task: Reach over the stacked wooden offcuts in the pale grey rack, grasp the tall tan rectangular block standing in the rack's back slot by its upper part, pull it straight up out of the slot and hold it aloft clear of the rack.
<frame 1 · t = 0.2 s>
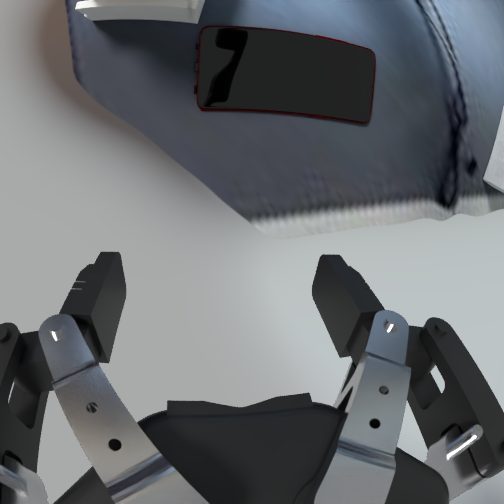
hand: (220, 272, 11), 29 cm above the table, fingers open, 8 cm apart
smartphone: (289, 72, 33), on the table
skincare box: (499, 142, 41), on the table
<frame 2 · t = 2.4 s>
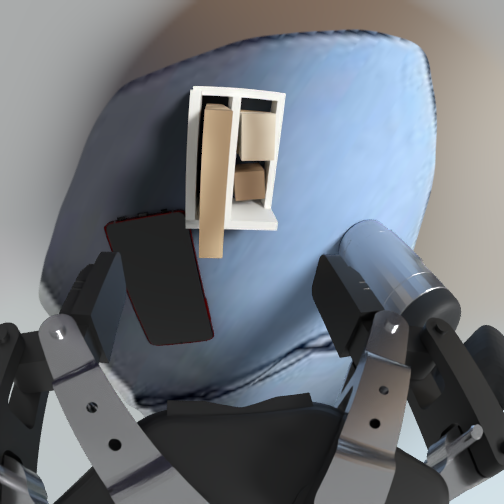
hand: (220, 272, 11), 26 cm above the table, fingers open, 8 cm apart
smartphone: (164, 283, 43), on the table
offcut maple: (254, 133, 30), point 3 cm above the table, touching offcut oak
rack: (231, 148, 33), on the table
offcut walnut: (245, 176, 35), resting in rack
tan rectangular block: (211, 147, 33), resting in rack
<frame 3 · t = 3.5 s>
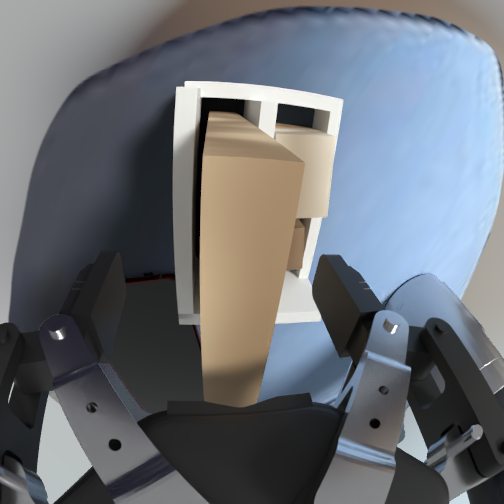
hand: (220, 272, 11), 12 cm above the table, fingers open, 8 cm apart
smartphone: (156, 355, 31), on the table
offcut maple: (290, 165, 18), point 3 cm above the table, touching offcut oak
rack: (250, 185, 21), on the table
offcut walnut: (269, 226, 24), resting in rack
tan rectangular block: (217, 183, 21), resting in rack
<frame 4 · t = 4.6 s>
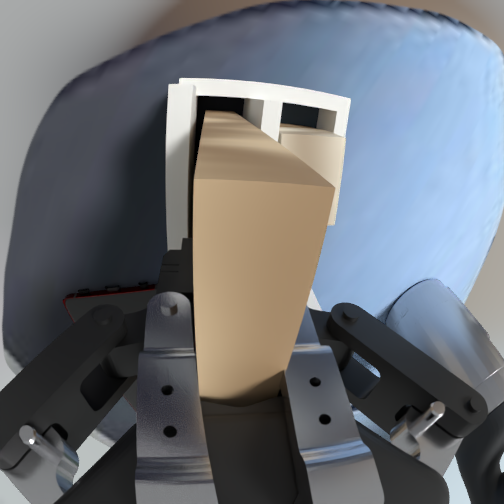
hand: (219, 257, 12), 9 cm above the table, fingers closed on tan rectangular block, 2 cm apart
smartphone: (153, 364, 30), on the table
offcut maple: (294, 167, 17), point 3 cm above the table, touching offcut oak
rack: (249, 189, 20), on the table
tan rectangular block: (214, 188, 20), resting in rack, touching gripper
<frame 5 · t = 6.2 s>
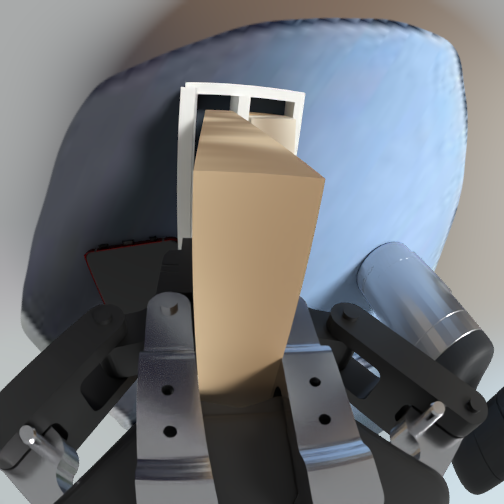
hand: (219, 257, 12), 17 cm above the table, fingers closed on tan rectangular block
smartphone: (156, 317, 37), on the table
offcut maple: (265, 143, 23), point 3 cm above the table, touching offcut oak
rack: (235, 161, 27), on the table
tan rectangular block: (214, 186, 20), point 8 cm above the table, touching gripper
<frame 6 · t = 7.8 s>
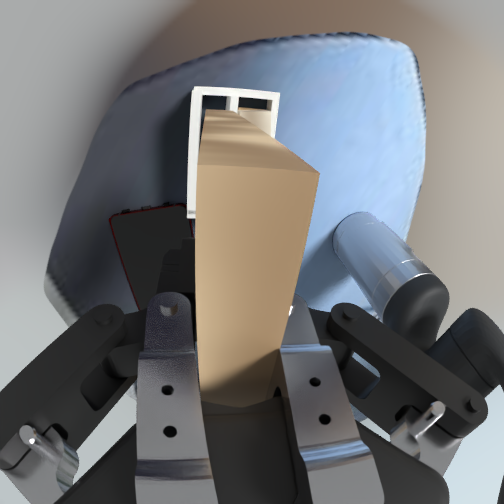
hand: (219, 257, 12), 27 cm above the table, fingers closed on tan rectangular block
smartphone: (164, 274, 45), on the table
offcut maple: (251, 129, 32), point 3 cm above the table, touching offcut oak
rack: (230, 144, 35), on the table
tan rectangular block: (214, 185, 20), point 17 cm above the table, touching gripper
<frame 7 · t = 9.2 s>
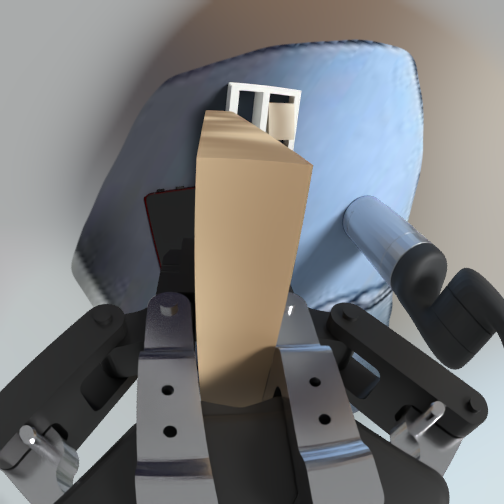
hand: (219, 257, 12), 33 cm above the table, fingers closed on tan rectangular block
smartphone: (191, 251, 50), on the table
offcut maple: (276, 119, 37), point 3 cm above the table, touching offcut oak
rack: (257, 133, 40), on the table
tan rectangular block: (213, 185, 20), point 23 cm above the table, touching gripper
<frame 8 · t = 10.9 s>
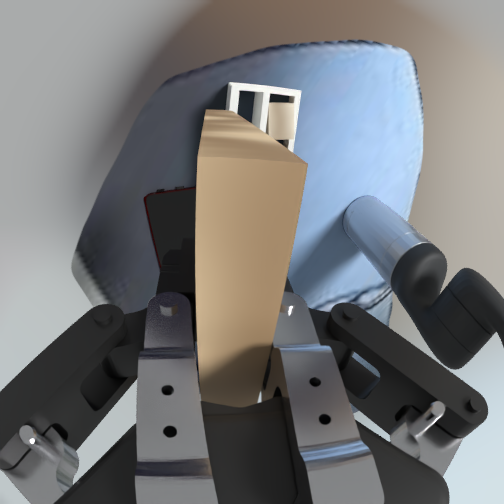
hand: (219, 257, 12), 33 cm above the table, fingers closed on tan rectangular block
smartphone: (191, 251, 50), on the table
offcut maple: (276, 119, 37), point 3 cm above the table, touching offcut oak
rack: (257, 133, 40), on the table
tan rectangular block: (213, 183, 21), point 23 cm above the table, touching gripper
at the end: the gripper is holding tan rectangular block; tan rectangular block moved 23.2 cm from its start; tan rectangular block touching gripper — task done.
